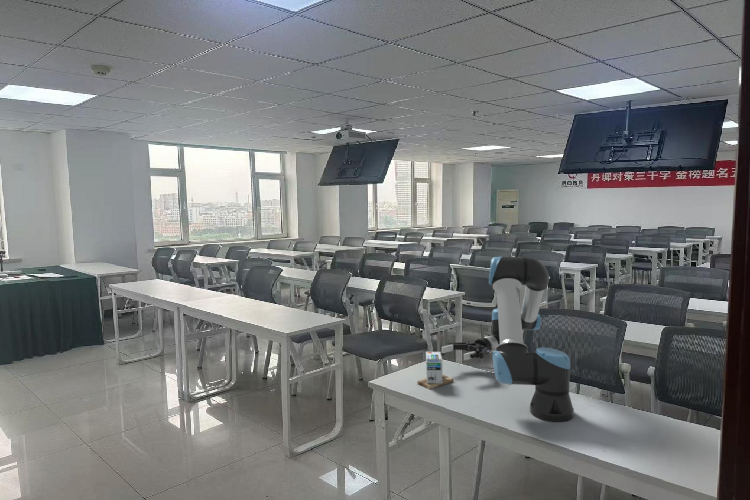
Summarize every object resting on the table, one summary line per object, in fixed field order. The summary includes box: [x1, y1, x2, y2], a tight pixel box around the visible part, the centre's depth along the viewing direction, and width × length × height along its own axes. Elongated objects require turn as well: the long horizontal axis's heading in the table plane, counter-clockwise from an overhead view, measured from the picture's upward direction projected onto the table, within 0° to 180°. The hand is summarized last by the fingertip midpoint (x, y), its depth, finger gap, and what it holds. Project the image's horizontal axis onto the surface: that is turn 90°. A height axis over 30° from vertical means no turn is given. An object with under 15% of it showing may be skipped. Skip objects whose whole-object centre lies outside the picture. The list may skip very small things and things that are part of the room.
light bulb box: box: [425, 351, 443, 384], centre depth 213 cm, size 11×7×11 cm, turn 176°
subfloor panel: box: [417, 373, 455, 390], centre depth 213 cm, size 8×14×1 cm, turn 125°
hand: (452, 353), depth 219 cm, fingers open, 13 cm apart
